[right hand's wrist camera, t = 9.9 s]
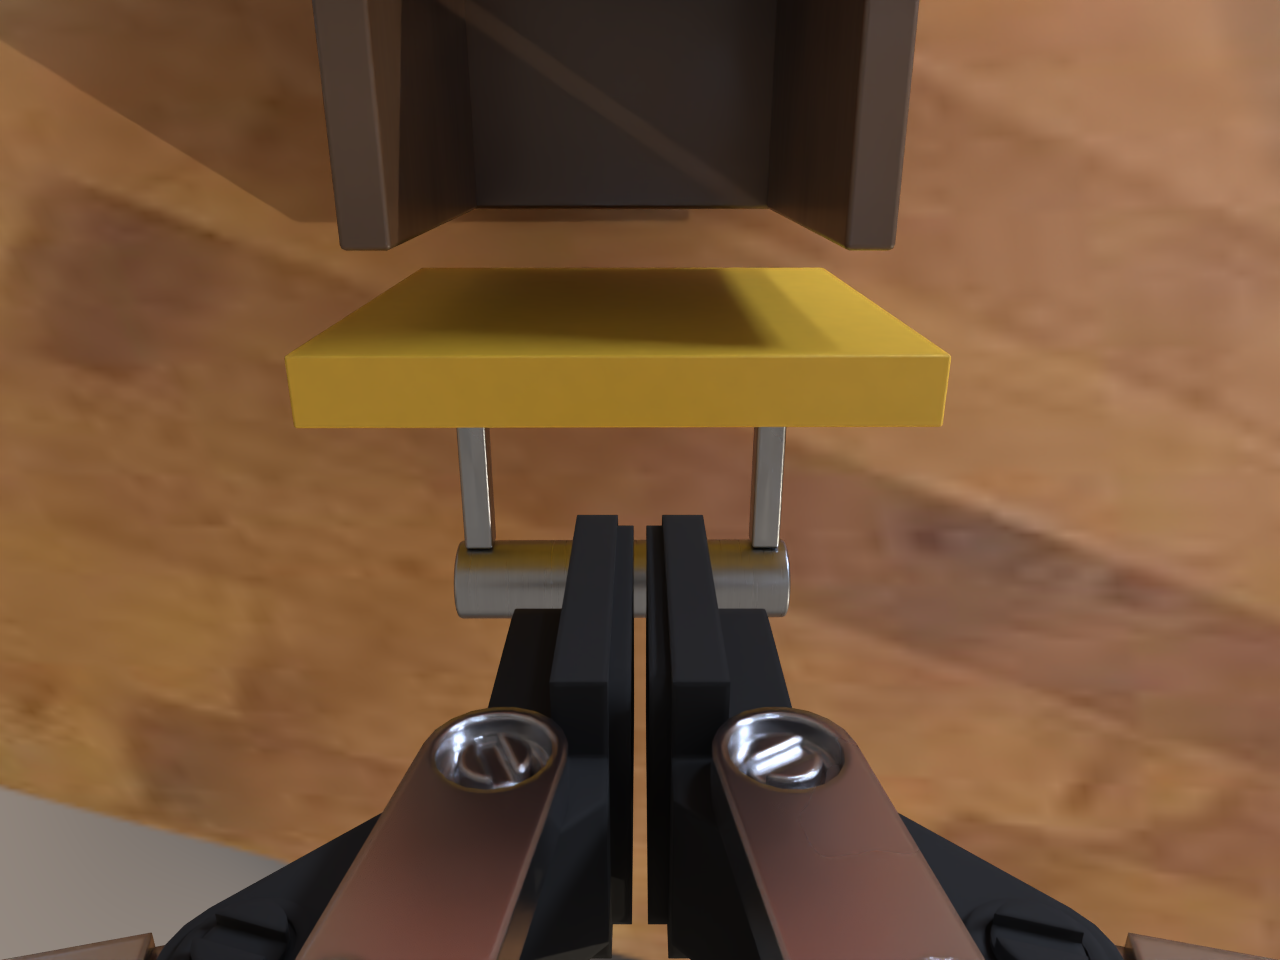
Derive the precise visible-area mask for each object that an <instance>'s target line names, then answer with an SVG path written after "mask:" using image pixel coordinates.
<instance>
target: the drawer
mask: <svg viewBox="0 0 1280 960" xmlns="http://www.w3.org/2000/svg"><path fill="white" fill-rule="evenodd" d="M312 5H313V14H314V22H315V31H316V40H317V49H318V57H319V66H320V75H321V84H322V92H323V101H324V110H325V119H326V127H327V136H328V145H329V154H330V162H331V171H332V180H333V189H334V198H335V206H336V215H337V224H338V233H339V241H340V246H341V248H342V249H344V250H389V249H391V248H393V247H396V246H398V245H400V244H402V243H404V242H406V241H408V240H410V239H412V238H414V237H416V236H419V235H421V234H423V233H425V232H427V231H429V230H431V229H433V228H435V227H437V226H439V225H442V224H444V223H446V222H448V221H450V220H452V219H454V218H456V217H458V216H460V215H463V214H465V213H467V212H469V211H471V210H473V209H771V210H773V211H775V212H777V213H778V214H780V215H782V216H784V217H786V218H788V219H790V220H792V221H794V222H796V223H798V224H799V225H801V226H803V227H805V228H807V229H809V230H811V231H813V232H815V233H817V234H819V235H820V236H822V237H824V238H826V239H828V240H830V241H832V242H834V243H836V244H838V245H840V246H841V247H843V248H845V249H848V250H891V249H893V247H894V245H895V241H896V231H897V221H898V210H899V200H900V190H901V180H902V170H903V160H904V150H905V140H906V130H907V120H908V110H909V100H910V90H911V80H912V70H913V60H914V49H915V39H916V29H917V19H918V9H919V0H312ZM284 359H285V366H286V373H287V380H288V387H289V394H290V401H291V408H292V416H293V423H294V427H296V428H457V441H458V455H459V468H460V482H461V495H462V508H463V522H464V535H465V541H462V542H461V543H460V544H459V547H458V549H457V553H456V559H455V568H454V597H455V605H456V610H457V613H458V615H459V617H461V618H512V616H513V613H514V610H515V609H517V608H562V604H563V598H564V591H565V585H566V579H567V573H568V567H569V561H570V555H571V549H572V543H573V540H500V541H495V538H496V530H495V514H494V497H493V481H492V464H491V448H490V432H489V428H538V427H754V440H753V461H752V481H751V502H750V523H749V538H750V540H707V543H708V549H709V555H710V561H711V567H712V573H713V579H714V585H715V591H716V598H717V604H718V608H763V609H765V610H766V613H767V616H768V617H783V616H785V615H786V613H787V610H788V607H789V600H790V564H789V556H788V551H787V547H786V544H785V542H784V541H783V540H781V539H779V536H780V520H781V504H782V488H783V472H784V456H785V440H786V427H939V426H942V424H943V417H944V409H945V401H946V393H947V385H948V377H949V369H950V361H951V356H950V355H949V354H948V353H946V352H945V351H943V350H942V349H941V348H939V347H938V346H936V345H935V344H933V343H932V342H930V341H929V340H927V339H926V338H925V337H923V336H922V335H920V334H919V333H917V332H916V331H914V330H913V329H911V328H910V327H908V326H907V325H906V324H904V323H903V322H901V321H900V320H898V319H897V318H895V317H894V316H892V315H891V314H889V313H888V312H887V311H885V310H884V309H882V308H881V307H879V306H878V305H876V304H875V303H873V302H872V301H870V300H869V299H868V298H866V297H865V296H863V295H862V294H860V293H859V292H857V291H856V290H854V289H853V288H851V287H850V286H849V285H847V284H846V283H844V282H843V281H841V280H840V279H838V278H837V277H835V276H834V275H832V274H831V273H830V272H828V271H827V270H825V269H824V268H421V269H420V270H418V271H417V272H415V273H413V274H412V275H410V276H409V277H407V278H406V279H404V280H403V281H401V282H399V283H398V284H396V285H395V286H393V287H392V288H390V289H389V290H387V291H385V292H384V293H382V294H381V295H379V296H378V297H376V298H375V299H373V300H371V301H370V302H368V303H367V304H365V305H364V306H362V307H361V308H359V309H357V310H356V311H354V312H353V313H351V314H350V315H348V316H347V317H345V318H343V319H342V320H340V321H339V322H337V323H336V324H334V325H333V326H331V327H329V328H328V329H326V330H325V331H323V332H322V333H320V334H319V335H317V336H315V337H314V338H312V339H311V340H309V341H308V342H306V343H305V344H303V345H301V346H300V347H298V348H297V349H295V350H294V351H292V352H291V353H289V354H287V355H286V356H285V358H284ZM634 618H646V540H634Z"/></svg>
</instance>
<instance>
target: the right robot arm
mask: <svg viewBox="0 0 1280 960" xmlns="http://www.w3.org/2000/svg"><path fill="white" fill-rule="evenodd" d="M633 771H634V527H633V526H618V515H577V519H576V525H575V531H574V537H573V543H572V549H571V555H570V561H569V567H568V573H567V579H566V585H565V591H564V598H563V604H562V608H517V609H515V610H514V613H513V616H512V619H511V623H510V627H509V631H508V634H507V638H506V642H505V646H504V649H503V653H502V657H501V661H500V664H499V668H498V672H497V676H496V679H495V683H494V687H493V691H492V695H491V698H490V702H489V706H488V708H486V709H481V710H475V711H471V712H468V713H466V714H463V715H461V716H458V717H455V718H453V719H451V720H449V721H448V722H446V723H445V724H443V725H442V726H440V727H439V728H437V729H436V730H435V731H434V732H433V733H432V734H431V735H430V737H429V738H428V739H427V740H426V741H425V742H424V744H423V745H422V747H421V749H420V750H419V752H418V754H417V755H416V757H415V759H414V760H413V762H412V764H411V765H410V767H409V769H408V771H407V772H406V774H405V776H404V777H403V779H402V781H401V782H400V784H399V786H398V787H397V789H396V791H395V792H394V794H393V796H392V797H391V799H390V801H389V802H388V804H387V806H386V807H385V809H384V811H383V812H382V813H381V814H379V815H377V816H375V817H373V818H372V819H370V820H368V821H366V822H364V823H363V824H361V825H359V826H357V827H355V828H354V829H352V830H350V831H348V832H346V833H344V834H343V835H341V836H339V837H337V838H335V839H334V840H332V841H330V842H328V843H326V844H325V845H323V846H321V847H319V848H317V849H316V850H314V851H312V852H310V853H308V854H306V855H305V856H303V857H301V858H299V859H297V860H296V861H294V862H292V863H290V864H288V865H287V866H285V867H283V868H281V869H279V870H278V871H276V872H274V873H272V874H270V875H269V876H267V877H265V878H263V879H261V880H259V881H258V882H256V883H254V884H252V885H250V886H249V887H247V888H245V889H243V890H241V891H240V892H238V893H236V894H234V895H232V896H231V897H229V898H227V899H225V900H223V901H222V902H220V903H218V904H216V905H214V906H212V907H211V908H209V909H208V910H206V911H205V912H203V913H202V914H200V915H199V916H197V917H196V918H194V919H193V920H191V921H190V922H188V923H187V924H186V925H184V926H183V927H182V928H181V929H180V930H179V931H178V932H177V933H176V934H175V936H174V937H173V938H172V939H171V940H170V941H169V942H168V943H167V944H166V945H163V946H158V947H155V944H154V940H153V936H152V933H147V934H141V935H136V936H130V937H125V938H120V939H114V940H108V941H103V942H97V943H92V944H86V945H81V946H75V947H70V948H65V949H59V950H53V951H48V952H42V953H37V954H32V955H26V956H20V957H15V958H9V959H4V960H589V959H591V958H612V930H613V924H632V869H633ZM646 771H647V868H648V924H667V930H668V958H689V959H691V960H1276V959H1271V958H1265V957H1260V956H1254V955H1249V954H1243V953H1238V952H1232V951H1227V950H1221V949H1216V948H1210V947H1205V946H1199V945H1194V944H1188V943H1183V942H1177V941H1172V940H1166V939H1161V938H1155V937H1150V936H1144V935H1139V934H1133V933H1128V936H1127V940H1126V944H1125V947H1122V946H1117V945H1114V944H1113V943H1112V942H1111V941H1110V940H1109V939H1108V938H1107V937H1106V935H1105V934H1104V933H1103V932H1102V931H1101V930H1100V929H1099V928H1098V927H1097V926H1096V925H1094V924H1093V923H1092V922H1090V921H1089V920H1087V919H1086V918H1084V917H1083V916H1081V915H1080V914H1078V913H1077V912H1075V911H1074V910H1072V909H1071V908H1069V907H1068V906H1066V905H1064V904H1062V903H1060V902H1059V901H1057V900H1055V899H1053V898H1051V897H1049V896H1048V895H1046V894H1044V893H1042V892H1040V891H1039V890H1037V889H1035V888H1033V887H1031V886H1030V885H1028V884H1026V883H1024V882H1022V881H1021V880H1019V879H1017V878H1015V877H1013V876H1011V875H1010V874H1008V873H1006V872H1004V871H1002V870H1001V869H999V868H997V867H995V866H993V865H992V864H990V863H988V862H986V861H984V860H983V859H981V858H979V857H977V856H975V855H974V854H972V853H970V852H968V851H966V850H964V849H963V848H961V847H959V846H957V845H955V844H954V843H952V842H950V841H948V840H946V839H945V838H943V837H941V836H939V835H937V834H936V833H934V832H932V831H930V830H928V829H926V828H925V827H923V826H921V825H919V824H917V823H916V822H914V821H912V820H910V819H908V818H907V817H905V816H903V815H901V814H899V813H898V812H897V811H896V809H895V807H894V806H893V804H892V802H891V801H890V799H889V797H888V796H887V794H886V792H885V791H884V789H883V787H882V786H881V784H880V782H879V781H878V779H877V777H876V776H875V774H874V772H873V771H872V769H871V767H870V765H869V764H868V762H867V760H866V759H865V757H864V755H863V754H862V752H861V750H860V749H859V747H858V745H857V744H856V742H855V741H854V740H853V739H852V738H851V737H850V735H849V734H848V733H847V732H846V731H845V730H844V729H843V728H841V727H840V726H838V725H837V724H835V723H834V722H832V721H831V720H829V719H827V718H825V717H822V716H819V715H817V714H814V713H812V712H809V711H805V710H799V709H794V708H792V706H791V702H790V698H789V695H788V691H787V687H786V683H785V679H784V676H783V672H782V668H781V664H780V661H779V657H778V653H777V649H776V646H775V642H774V638H773V634H772V631H771V627H770V623H769V619H768V616H767V613H766V610H765V609H763V608H718V604H717V598H716V591H715V585H714V579H713V573H712V567H711V561H710V555H709V549H708V543H707V537H706V531H705V525H704V519H703V515H662V526H647V527H646Z"/></svg>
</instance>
